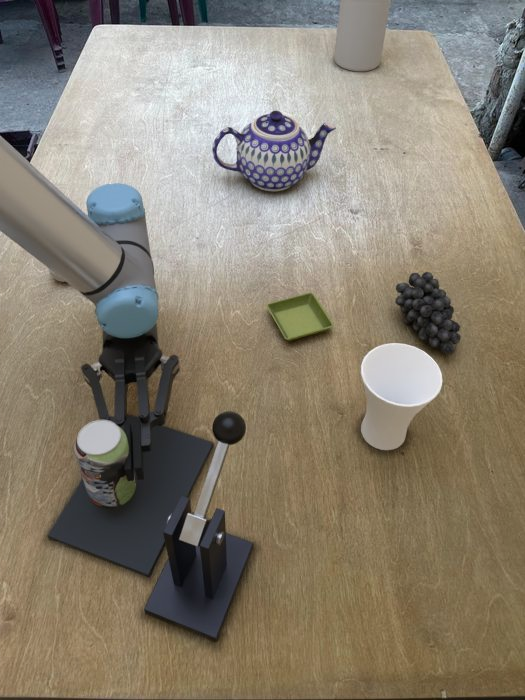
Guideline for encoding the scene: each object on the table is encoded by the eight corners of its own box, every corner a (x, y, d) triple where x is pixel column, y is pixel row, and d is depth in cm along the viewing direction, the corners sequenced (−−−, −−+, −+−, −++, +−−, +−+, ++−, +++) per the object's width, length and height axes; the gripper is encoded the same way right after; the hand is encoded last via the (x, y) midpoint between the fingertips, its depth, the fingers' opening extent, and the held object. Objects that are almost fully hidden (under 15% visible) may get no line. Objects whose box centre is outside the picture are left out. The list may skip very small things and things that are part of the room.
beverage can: (88, 480, 81) (55, 425, 72) (143, 462, 82) (117, 405, 73) (94, 521, 77) (59, 468, 68) (152, 501, 78) (125, 447, 69)
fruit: (476, 323, 92) (432, 256, 102) (424, 344, 93) (384, 276, 102) (476, 354, 99) (435, 289, 108) (427, 374, 100) (390, 307, 109)
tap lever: (222, 409, 69) (215, 404, 66) (252, 418, 68) (247, 415, 65) (179, 535, 67) (170, 537, 63) (210, 546, 66) (202, 549, 63)
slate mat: (48, 538, 78) (47, 535, 78) (124, 415, 91) (123, 412, 90) (149, 577, 76) (148, 574, 75) (213, 445, 88) (213, 442, 87)
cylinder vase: (389, 62, 168) (408, -43, 149) (360, 77, 162) (377, -30, 143) (352, 47, 174) (366, -56, 155) (324, 61, 168) (335, -44, 149)
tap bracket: (187, 523, 80) (179, 459, 68) (253, 547, 78) (256, 486, 66) (145, 613, 73) (127, 559, 61) (216, 642, 71) (212, 592, 59)
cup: (421, 409, 93) (444, 350, 83) (417, 470, 86) (441, 414, 76) (352, 396, 94) (365, 336, 84) (342, 454, 88) (355, 396, 77)
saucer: (264, 312, 105) (265, 303, 104) (311, 299, 108) (312, 291, 106) (285, 348, 100) (285, 340, 99) (333, 334, 102) (335, 326, 101)
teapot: (216, 202, 125) (214, 135, 114) (210, 161, 135) (207, 95, 123) (338, 195, 128) (347, 129, 117) (323, 155, 137) (331, 90, 126)
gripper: (180, 340, 92) (193, 482, 77) (86, 350, 90) (81, 497, 75) (176, 304, 86) (190, 450, 71) (75, 313, 84) (68, 465, 69)
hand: (134, 474), depth 73 cm, fingers closed on beverage can
